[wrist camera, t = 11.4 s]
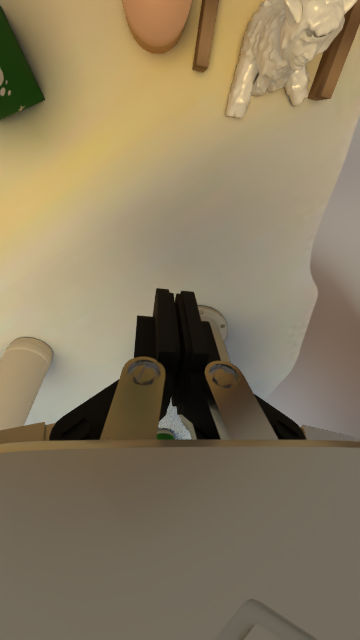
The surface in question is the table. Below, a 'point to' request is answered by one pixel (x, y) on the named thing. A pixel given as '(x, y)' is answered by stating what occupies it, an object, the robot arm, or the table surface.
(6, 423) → the bottle
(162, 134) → the table surface
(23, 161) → the table surface
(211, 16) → the display bay
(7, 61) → the milk carton
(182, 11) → the tan rounded cylinder
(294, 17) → the white creature statuette
